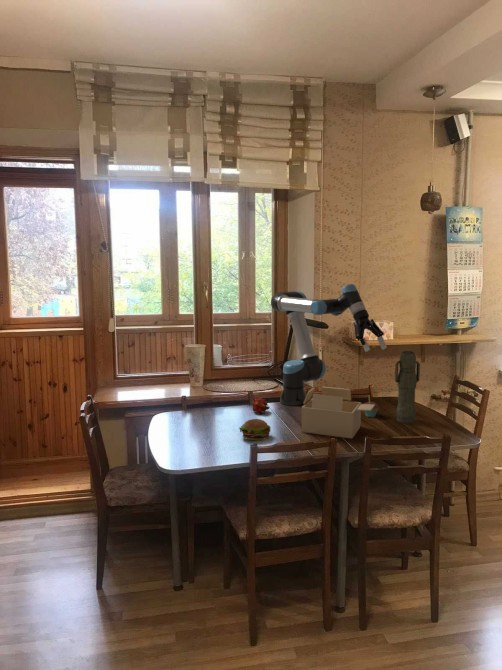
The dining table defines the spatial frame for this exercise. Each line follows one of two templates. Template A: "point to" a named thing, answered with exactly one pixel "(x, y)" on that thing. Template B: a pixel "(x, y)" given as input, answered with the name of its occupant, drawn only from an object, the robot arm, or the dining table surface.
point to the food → (255, 429)
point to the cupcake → (374, 410)
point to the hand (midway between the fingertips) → (376, 349)
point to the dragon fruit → (259, 405)
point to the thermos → (406, 386)
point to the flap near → (327, 402)
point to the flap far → (337, 392)
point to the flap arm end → (308, 395)
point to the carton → (332, 420)
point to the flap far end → (365, 407)
